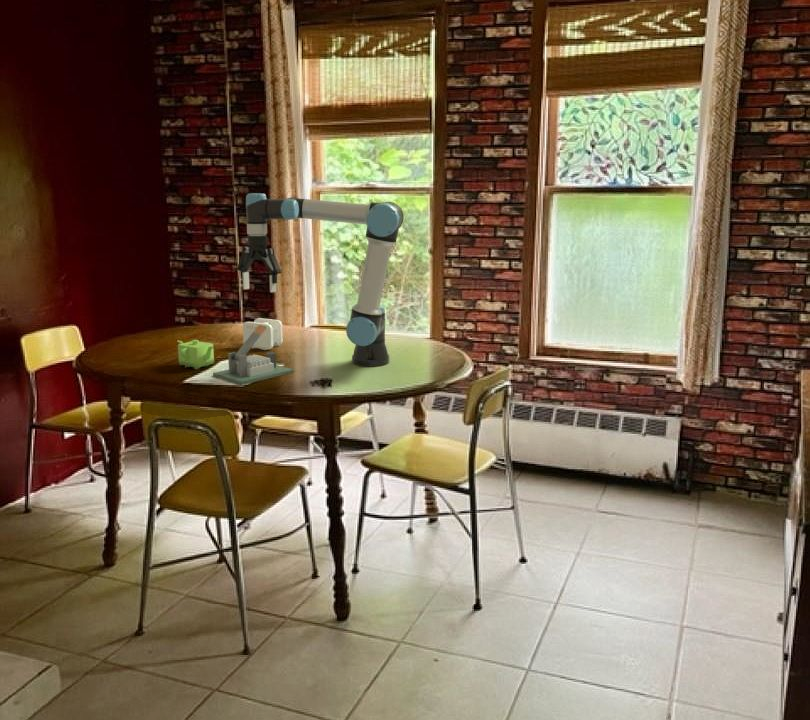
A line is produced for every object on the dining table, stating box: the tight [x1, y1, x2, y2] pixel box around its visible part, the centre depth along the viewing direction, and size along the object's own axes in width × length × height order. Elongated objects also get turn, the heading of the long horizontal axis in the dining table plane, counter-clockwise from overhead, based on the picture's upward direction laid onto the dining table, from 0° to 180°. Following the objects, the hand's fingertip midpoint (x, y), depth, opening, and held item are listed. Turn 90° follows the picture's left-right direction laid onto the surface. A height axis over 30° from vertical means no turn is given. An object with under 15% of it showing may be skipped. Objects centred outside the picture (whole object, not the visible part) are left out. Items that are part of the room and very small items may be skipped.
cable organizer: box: [242, 317, 284, 351], centre depth 342 cm, size 15×11×12 cm
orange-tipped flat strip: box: [232, 325, 266, 361], centre depth 295 cm, size 5×17×2 cm
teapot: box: [177, 339, 215, 370], centre depth 309 cm, size 15×13×11 cm
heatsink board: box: [212, 351, 294, 386], centre depth 298 cm, size 18×24×9 cm
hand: (259, 290), depth 303 cm, fingers open, 13 cm apart
